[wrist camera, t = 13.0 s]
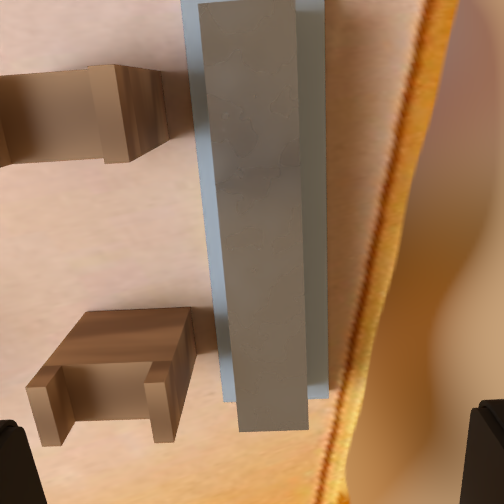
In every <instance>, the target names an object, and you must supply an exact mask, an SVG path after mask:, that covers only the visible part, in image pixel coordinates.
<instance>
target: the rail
mask: <svg viewBox="0 0 504 504" xmlns="http://www.w3.org/2000/svg"><path fill="white" fill-rule="evenodd" d="M198 12H199V22H200V32H201V43H202V53H203V63H204V74H205V84H206V94H207V105H208V115H209V125H210V136H211V146H212V156H213V167H214V177H215V187H216V198H217V208H218V218H219V229H220V239H221V249H222V260H223V270H224V280H225V291H226V301H227V311H228V321H229V332H230V342H231V352H232V363H233V373H234V383H235V394H236V404H237V414H238V425H239V432H257V431H287V430H309V424H308V391H307V359H306V327H305V295H304V263H303V230H302V198H301V166H300V134H299V102H298V69H297V37H296V5H295V0H236V1H223V2H211V3H199V4H198Z"/></svg>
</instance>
